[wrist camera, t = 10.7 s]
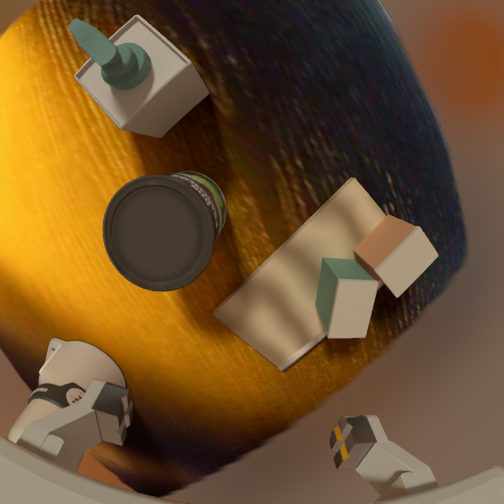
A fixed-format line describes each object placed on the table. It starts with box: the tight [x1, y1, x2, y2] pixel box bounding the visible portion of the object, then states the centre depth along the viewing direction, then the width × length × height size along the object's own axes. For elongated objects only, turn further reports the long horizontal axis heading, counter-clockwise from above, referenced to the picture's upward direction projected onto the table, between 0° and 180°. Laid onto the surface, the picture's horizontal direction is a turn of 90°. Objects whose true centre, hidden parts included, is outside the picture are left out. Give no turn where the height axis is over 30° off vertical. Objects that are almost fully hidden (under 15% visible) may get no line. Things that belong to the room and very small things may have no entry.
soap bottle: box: [69, 15, 209, 138], centre depth 25 cm, size 9×9×19 cm
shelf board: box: [213, 178, 386, 371], centre depth 40 cm, size 26×14×2 cm, turn 136°
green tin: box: [315, 257, 379, 338], centre depth 36 cm, size 5×7×8 cm
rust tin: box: [353, 215, 438, 298], centre depth 34 cm, size 5×7×8 cm
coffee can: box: [103, 171, 227, 292], centre depth 32 cm, size 10×10×14 cm
